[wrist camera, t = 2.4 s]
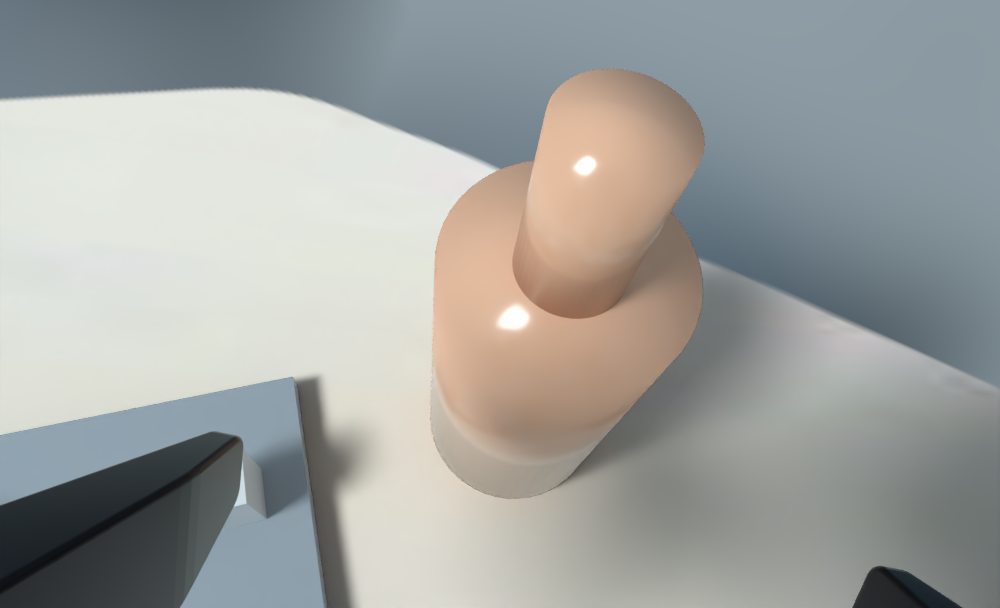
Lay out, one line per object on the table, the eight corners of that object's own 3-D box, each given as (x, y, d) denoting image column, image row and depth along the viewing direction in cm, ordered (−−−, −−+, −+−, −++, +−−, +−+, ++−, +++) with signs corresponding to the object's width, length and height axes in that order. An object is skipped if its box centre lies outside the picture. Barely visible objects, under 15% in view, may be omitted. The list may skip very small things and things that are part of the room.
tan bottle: (622, 411, 22) (867, 131, 10) (521, 535, 20) (677, 374, 8) (502, 313, 24) (589, -43, 11) (396, 420, 21) (357, 122, 9)
